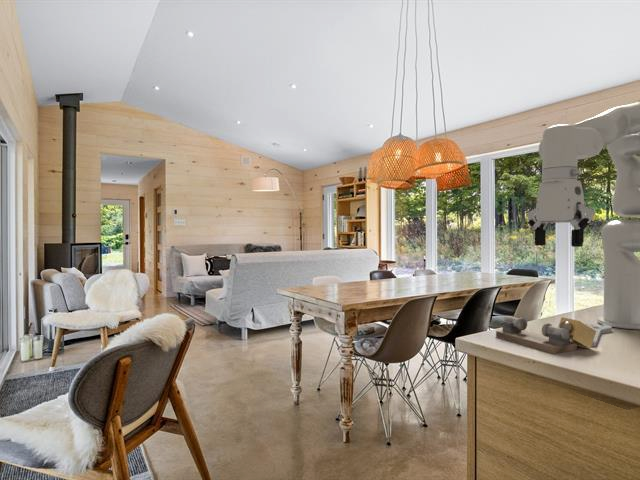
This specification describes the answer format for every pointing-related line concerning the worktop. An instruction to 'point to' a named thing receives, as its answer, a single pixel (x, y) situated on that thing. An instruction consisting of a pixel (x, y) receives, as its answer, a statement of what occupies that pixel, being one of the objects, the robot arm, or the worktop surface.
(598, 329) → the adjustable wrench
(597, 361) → the worktop surface
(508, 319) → the shaft stand
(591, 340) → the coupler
